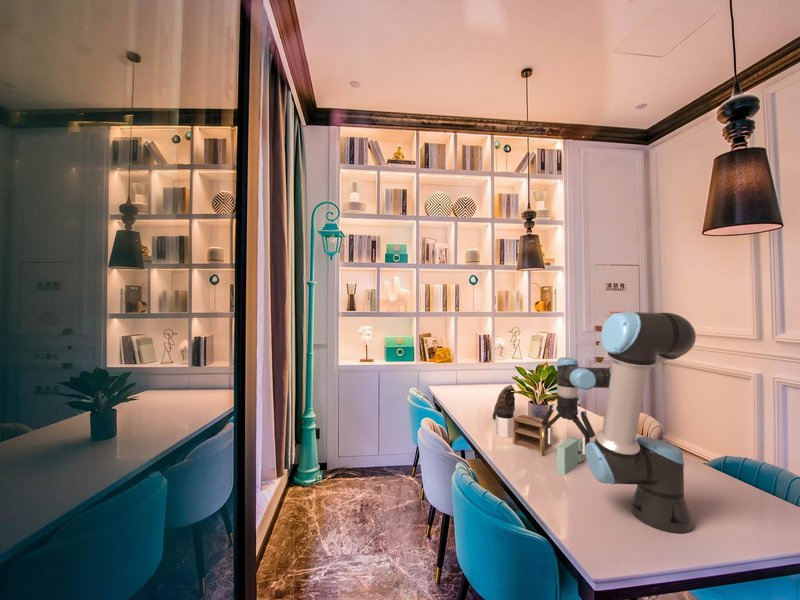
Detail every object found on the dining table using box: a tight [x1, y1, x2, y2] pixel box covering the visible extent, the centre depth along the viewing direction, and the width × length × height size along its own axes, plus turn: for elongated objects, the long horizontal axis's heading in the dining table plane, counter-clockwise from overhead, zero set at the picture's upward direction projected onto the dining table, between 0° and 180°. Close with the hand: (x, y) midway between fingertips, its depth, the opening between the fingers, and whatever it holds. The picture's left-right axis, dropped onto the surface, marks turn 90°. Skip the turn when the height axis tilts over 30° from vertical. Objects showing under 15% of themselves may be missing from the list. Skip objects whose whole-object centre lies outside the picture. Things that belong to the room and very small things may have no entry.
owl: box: [492, 384, 516, 421], centre depth 202 cm, size 13×13×20 cm
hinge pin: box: [541, 428, 546, 457], centre depth 153 cm, size 1×1×12 cm
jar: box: [495, 409, 514, 438], centre depth 179 cm, size 9×8×12 cm
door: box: [556, 436, 585, 476], centre depth 143 cm, size 19×5×10 cm, turn 134°
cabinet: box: [512, 413, 552, 453], centre depth 165 cm, size 10×14×12 cm
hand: (567, 448), depth 142 cm, fingers open, 13 cm apart
